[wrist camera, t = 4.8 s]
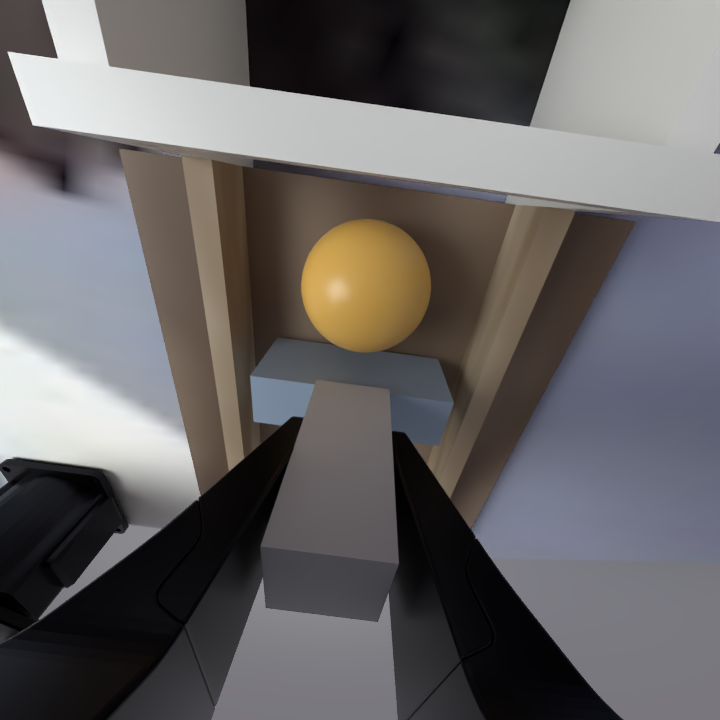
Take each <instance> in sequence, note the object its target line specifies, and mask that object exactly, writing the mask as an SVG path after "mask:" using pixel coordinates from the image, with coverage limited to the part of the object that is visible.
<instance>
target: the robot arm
mask: <svg viewBox="0 0 720 720" xmlns="http://www.w3.org/2000/svg"><path fill="white" fill-rule="evenodd" d="M303 419H304V417H297V416H292V417H291V418H290V419H288V420H287V421H286V422H285V423H284V424H283V425H282V426H280V427H279V428H278V429H277V430H276V431H275V432H274V433H272V434H271V435H270V436H269V437H268V438H267V439H266V440H264V441H263V442H262V443H261V444H260V445H259V446H258V447H256V448H255V449H254V450H253V451H252V452H251V453H250V454H248V455H247V456H246V457H245V458H244V459H243V460H242V461H240V462H239V463H238V464H237V465H236V466H235V467H234V468H232V469H231V470H230V471H229V472H228V473H227V474H226V475H224V476H223V477H222V478H221V479H220V480H219V481H218V482H216V483H215V484H214V485H213V486H212V487H211V488H209V489H208V490H207V491H206V492H205V493H204V494H203V495H201V496H200V497H199V501H198V500H196V501H194V502H193V503H192V504H191V505H190V506H189V507H188V508H186V509H185V510H184V511H183V512H182V513H181V514H179V515H178V516H177V517H176V518H175V519H173V520H172V521H171V522H170V523H169V524H167V525H166V526H165V527H164V528H163V529H161V530H160V531H159V532H158V533H156V534H155V535H154V536H153V537H151V538H150V539H149V540H147V541H146V542H145V543H143V544H142V545H141V546H139V547H138V548H137V549H136V550H134V551H133V552H132V553H130V554H129V555H128V556H126V557H125V558H124V559H122V560H121V561H119V562H118V563H117V564H115V565H114V566H113V567H112V568H110V569H109V570H107V571H106V572H105V573H103V574H102V575H101V576H99V577H98V578H97V579H95V580H94V581H93V582H91V583H90V584H88V585H87V586H86V587H84V588H83V589H82V590H80V591H79V592H78V593H76V594H75V595H74V596H72V597H71V598H69V599H68V600H67V601H65V602H64V603H63V604H61V605H60V606H59V607H57V608H56V609H55V610H53V611H52V612H50V613H49V614H48V615H46V616H45V617H43V618H42V619H40V620H38V619H39V617H40V616H41V615H42V614H43V612H44V611H45V610H46V609H47V607H48V606H49V605H50V604H51V602H52V601H53V600H54V599H55V597H56V596H57V595H58V594H59V592H60V591H61V590H62V589H63V588H64V587H65V588H68V587H70V586H71V585H73V584H74V583H75V582H76V581H77V579H78V578H79V577H80V575H81V574H82V573H83V572H84V570H85V569H86V568H87V567H88V565H89V564H90V563H91V561H92V560H93V559H94V558H95V556H96V555H97V554H98V553H99V551H100V550H101V549H102V547H103V546H104V545H105V544H106V542H107V541H108V540H109V538H110V537H111V536H112V535H113V533H119V534H122V533H124V532H125V531H126V529H127V528H128V527H129V526H128V523H127V521H126V519H125V517H124V515H123V513H122V510H121V508H120V506H119V504H118V502H117V500H116V498H115V495H114V493H113V491H112V489H111V487H110V485H109V483H108V481H107V478H106V476H105V475H104V474H103V473H102V472H100V471H97V470H90V469H82V468H74V467H67V466H59V465H51V464H43V463H36V462H28V461H20V460H12V459H6V460H5V461H3V462H2V463H0V471H1V472H2V474H3V475H4V476H5V478H6V479H7V481H8V483H7V484H6V485H4V486H3V487H2V488H0V720H211V718H212V716H213V713H214V710H215V707H214V706H216V704H217V702H218V699H219V696H220V693H221V691H222V688H223V685H224V682H225V680H226V677H227V674H228V671H229V668H230V666H231V663H232V660H233V657H234V655H235V652H236V649H237V647H238V644H239V641H240V638H241V636H242V633H243V630H244V627H245V625H246V622H247V619H248V616H249V613H250V611H251V608H252V605H253V602H254V600H255V597H256V594H257V591H258V589H259V586H260V583H261V580H262V578H263V570H262V558H261V547H260V546H261V543H262V540H263V537H264V534H265V531H266V528H267V525H268V522H269V519H270V516H271V513H272V511H273V508H274V505H275V502H276V499H277V496H278V493H279V490H280V487H281V484H282V481H283V478H284V475H285V472H286V469H287V466H288V463H289V460H290V457H291V455H292V452H293V449H294V445H295V442H296V439H297V436H298V434H299V431H300V428H301V425H302V422H303ZM392 447H393V465H394V483H395V502H396V520H397V539H398V557H399V565H398V568H397V570H396V573H395V576H394V579H393V581H392V584H391V587H390V590H389V602H390V616H391V630H392V643H393V657H394V671H395V686H396V700H397V713H398V720H623V719H622V718H621V717H620V716H619V715H617V714H616V713H615V712H614V711H613V710H612V709H611V708H610V707H609V706H608V705H607V704H606V703H605V702H604V701H603V700H602V699H601V698H600V696H598V694H597V693H596V692H595V691H594V690H593V689H592V688H591V686H590V685H589V684H588V683H587V682H586V680H585V679H584V678H583V677H582V676H581V674H580V673H579V672H578V671H577V669H576V668H575V667H574V666H573V665H572V663H571V662H570V661H569V659H568V658H567V657H566V656H565V654H564V653H563V652H562V651H561V649H560V648H559V647H558V645H557V644H556V643H555V642H554V640H553V639H552V638H551V637H550V635H549V634H548V633H547V632H546V630H545V629H544V628H543V627H542V625H541V624H540V623H539V622H538V620H537V619H536V618H535V617H534V615H533V614H532V613H531V612H530V610H529V609H528V608H527V607H526V605H525V604H524V603H523V602H522V600H521V599H520V598H519V596H518V595H517V594H516V593H515V591H514V590H513V588H512V587H511V586H510V584H509V583H508V582H507V580H506V579H505V578H504V577H503V575H502V574H501V572H500V571H499V570H498V568H497V567H496V565H495V564H494V563H493V561H492V560H491V558H490V557H489V555H488V554H487V552H486V551H485V549H484V548H483V546H482V545H481V544H480V542H479V541H478V539H475V535H474V533H473V532H472V530H471V529H470V527H469V526H468V524H467V523H466V522H465V520H464V519H463V517H462V516H461V514H460V513H459V511H458V510H457V508H456V507H455V505H454V504H453V502H452V501H451V499H450V498H449V496H448V495H447V493H446V492H445V490H444V489H443V487H442V486H441V485H440V483H439V482H438V480H437V479H436V477H435V476H434V474H433V473H432V471H431V470H430V468H429V467H428V465H427V464H426V462H425V461H424V459H423V458H422V456H421V455H420V453H419V452H418V450H417V449H416V448H415V446H414V445H413V443H412V442H411V440H410V439H409V437H408V436H407V434H406V433H404V432H399V431H392Z"/></svg>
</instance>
